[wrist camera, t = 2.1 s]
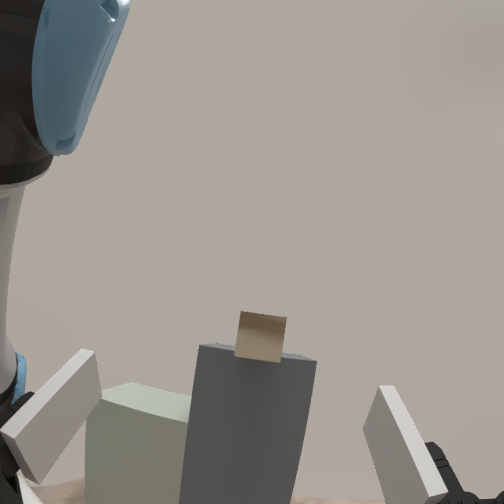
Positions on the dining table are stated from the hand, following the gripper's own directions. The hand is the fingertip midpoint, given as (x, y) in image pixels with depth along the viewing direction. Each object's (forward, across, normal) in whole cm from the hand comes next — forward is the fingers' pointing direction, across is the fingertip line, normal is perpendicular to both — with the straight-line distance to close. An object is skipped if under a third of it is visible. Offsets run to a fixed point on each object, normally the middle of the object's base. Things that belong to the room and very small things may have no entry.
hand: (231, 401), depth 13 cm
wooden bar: (+23, +2, -11) cm, 26 cm away
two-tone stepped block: (+15, -7, -40) cm, 43 cm away
